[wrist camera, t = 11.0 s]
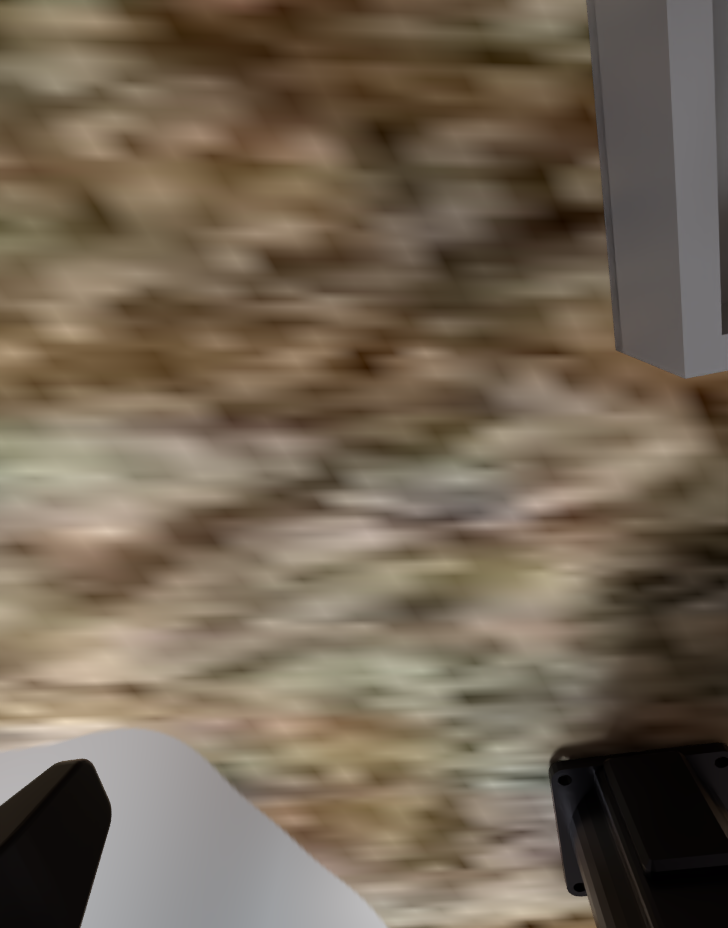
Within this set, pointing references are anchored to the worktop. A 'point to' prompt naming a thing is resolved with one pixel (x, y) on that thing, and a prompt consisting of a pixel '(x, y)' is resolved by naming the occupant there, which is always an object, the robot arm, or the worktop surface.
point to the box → (665, 176)
